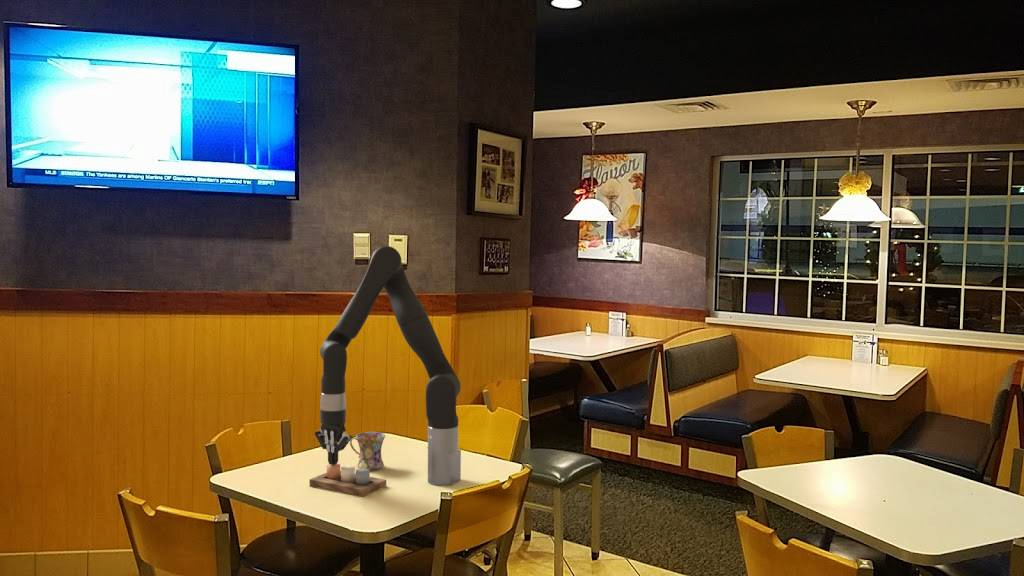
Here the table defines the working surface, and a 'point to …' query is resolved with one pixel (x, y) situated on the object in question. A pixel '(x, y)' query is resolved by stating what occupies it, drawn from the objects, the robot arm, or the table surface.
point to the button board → (347, 485)
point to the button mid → (347, 474)
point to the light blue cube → (362, 477)
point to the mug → (369, 450)
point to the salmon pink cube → (333, 471)
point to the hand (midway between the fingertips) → (332, 463)
